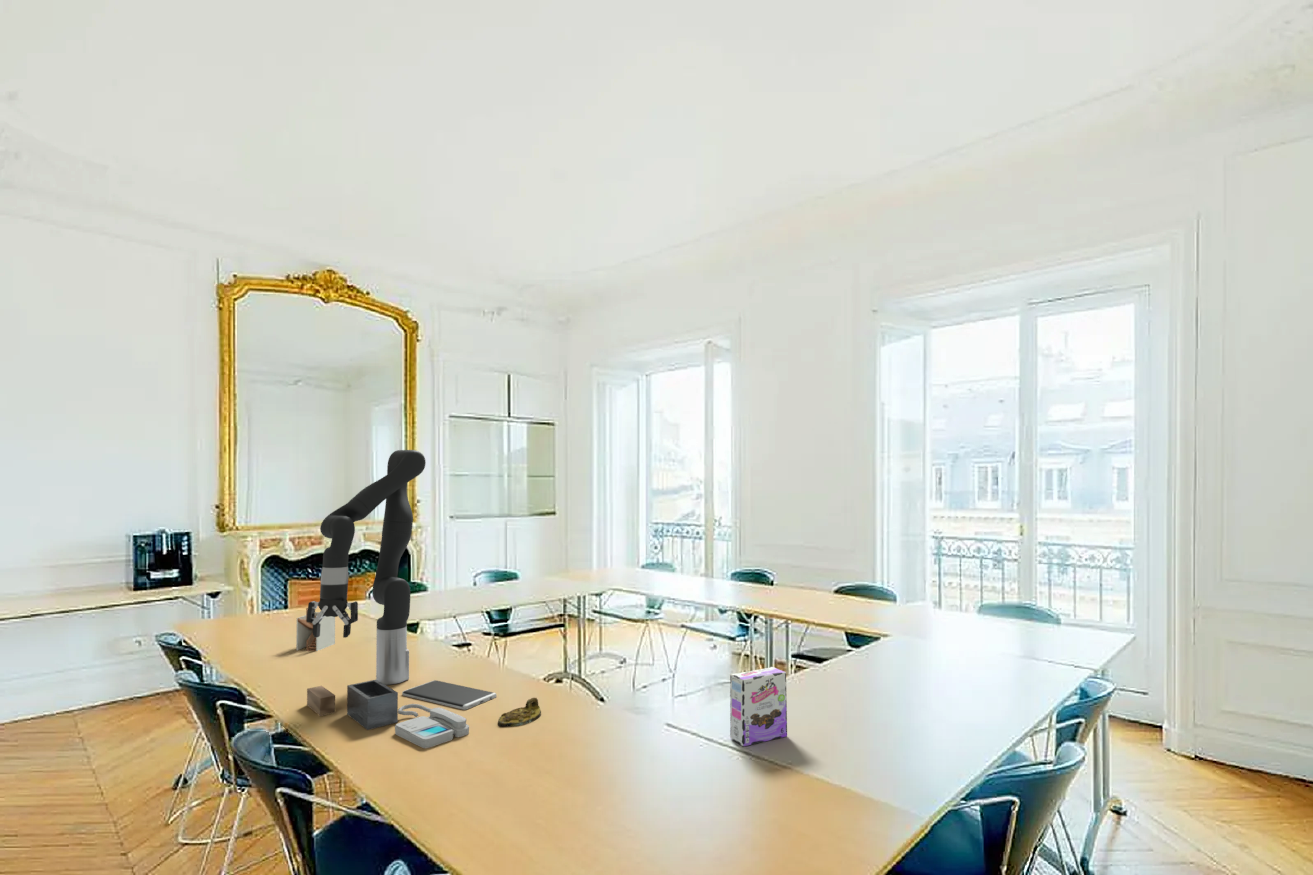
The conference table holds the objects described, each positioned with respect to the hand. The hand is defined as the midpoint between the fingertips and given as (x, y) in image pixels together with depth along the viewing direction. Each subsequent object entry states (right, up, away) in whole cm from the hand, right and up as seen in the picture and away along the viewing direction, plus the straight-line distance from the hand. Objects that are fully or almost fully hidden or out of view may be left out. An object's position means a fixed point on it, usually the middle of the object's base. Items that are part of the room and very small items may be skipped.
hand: (331, 637), depth 209 cm
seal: (+60, -18, -17) cm, 65 cm away
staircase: (-34, -22, +61) cm, 73 cm away
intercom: (+35, -18, -24) cm, 47 cm away
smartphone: (+35, -19, +2) cm, 40 cm away
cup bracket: (+19, -18, -16) cm, 30 cm away
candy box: (+123, -17, -32) cm, 129 cm away
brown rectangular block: (+1, -19, -8) cm, 20 cm away
